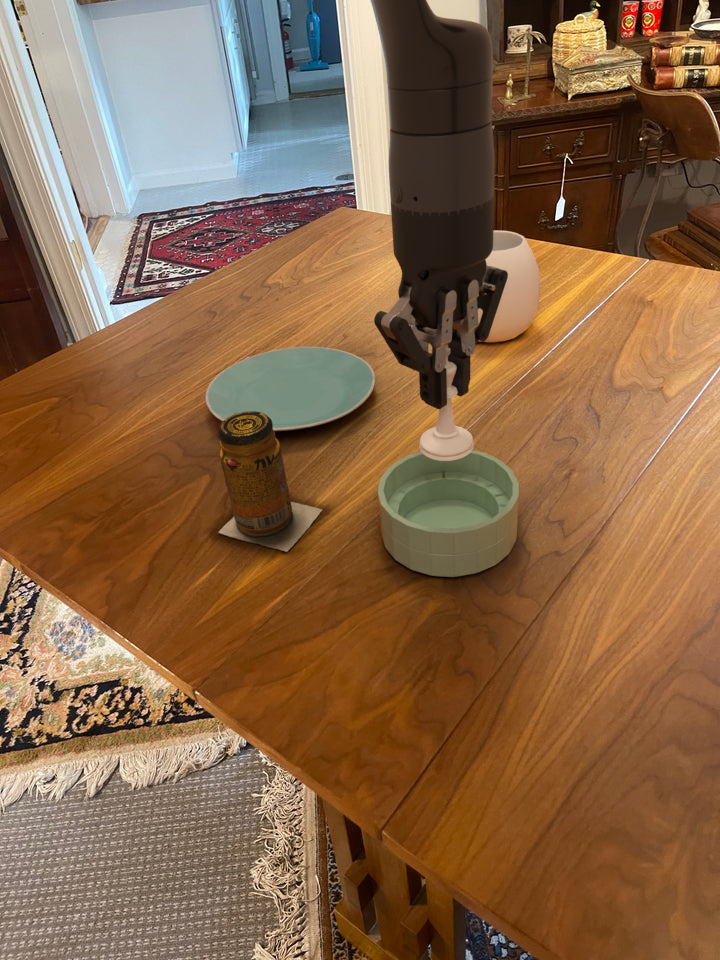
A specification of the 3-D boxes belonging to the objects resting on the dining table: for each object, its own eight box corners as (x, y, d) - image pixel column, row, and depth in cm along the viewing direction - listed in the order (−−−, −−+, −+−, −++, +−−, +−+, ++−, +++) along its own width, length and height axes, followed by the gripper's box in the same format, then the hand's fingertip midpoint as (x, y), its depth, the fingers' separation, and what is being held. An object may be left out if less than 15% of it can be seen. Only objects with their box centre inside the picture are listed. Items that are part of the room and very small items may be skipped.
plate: (273, 351, 109) (270, 334, 107) (406, 378, 99) (405, 359, 98) (174, 426, 94) (168, 407, 93) (318, 466, 84) (315, 445, 83)
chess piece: (410, 455, 66) (405, 355, 60) (430, 427, 69) (427, 329, 63) (463, 465, 64) (462, 362, 58) (481, 436, 67) (482, 336, 61)
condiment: (256, 493, 81) (235, 400, 74) (322, 510, 78) (308, 414, 71) (218, 534, 76) (192, 438, 69) (287, 554, 73) (267, 455, 66)
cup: (537, 311, 112) (542, 223, 104) (538, 351, 102) (544, 256, 94) (450, 312, 115) (449, 226, 107) (443, 351, 104) (441, 259, 96)
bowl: (533, 511, 75) (537, 463, 71) (489, 597, 66) (490, 547, 62) (415, 482, 80) (413, 436, 77) (359, 559, 71) (353, 511, 68)
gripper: (411, 227, 47) (421, 448, 58) (542, 175, 54) (530, 381, 65) (336, 209, 52) (358, 416, 62) (465, 163, 59) (466, 356, 69)
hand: (445, 397), depth 63 cm, fingers closed on chess piece
